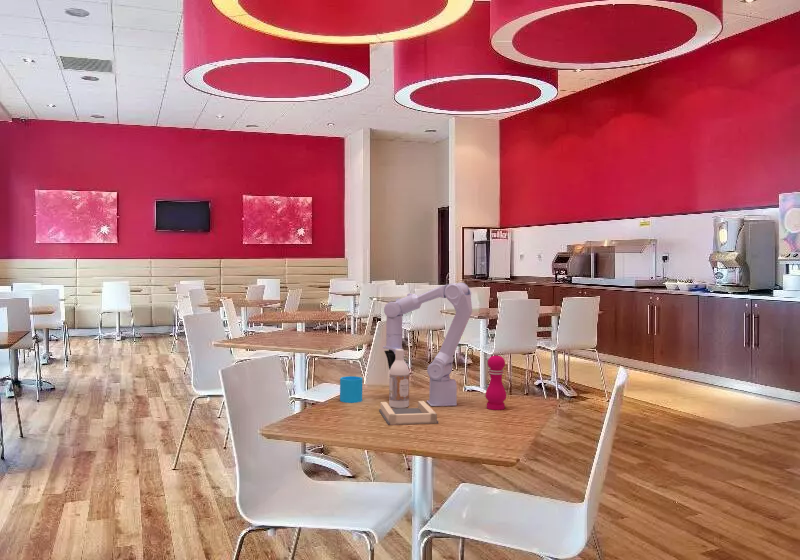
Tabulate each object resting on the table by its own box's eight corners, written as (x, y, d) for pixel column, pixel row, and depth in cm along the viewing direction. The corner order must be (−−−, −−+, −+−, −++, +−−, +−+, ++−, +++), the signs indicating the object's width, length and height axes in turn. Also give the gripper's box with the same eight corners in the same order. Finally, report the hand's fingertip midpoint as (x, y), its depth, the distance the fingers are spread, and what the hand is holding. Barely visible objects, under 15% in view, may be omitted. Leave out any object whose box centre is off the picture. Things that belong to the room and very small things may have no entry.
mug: (359, 403, 244) (360, 380, 244) (337, 402, 245) (337, 379, 245) (366, 396, 256) (366, 374, 256) (344, 395, 257) (345, 374, 257)
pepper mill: (505, 406, 241) (506, 349, 241) (506, 410, 234) (507, 352, 234) (484, 405, 242) (485, 349, 242) (485, 410, 235) (486, 352, 234)
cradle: (425, 409, 235) (425, 400, 235) (438, 423, 215) (438, 413, 215) (378, 410, 232) (379, 402, 232) (388, 425, 212) (388, 415, 212)
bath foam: (396, 409, 235) (396, 351, 234) (385, 405, 240) (386, 349, 240) (412, 407, 238) (413, 350, 238) (401, 403, 244) (402, 347, 243)
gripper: (380, 332, 257) (380, 368, 257) (386, 336, 243) (385, 374, 243) (398, 332, 258) (398, 367, 258) (405, 336, 244) (405, 374, 244)
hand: (393, 371), depth 251 cm, fingers open, 6 cm apart
